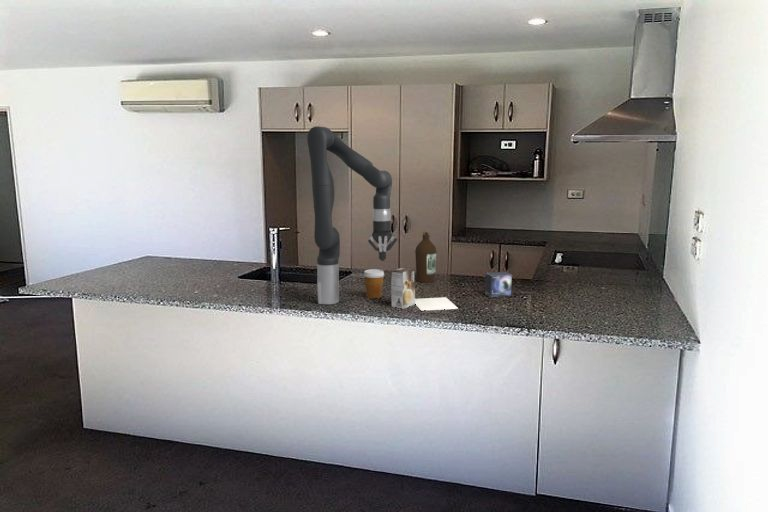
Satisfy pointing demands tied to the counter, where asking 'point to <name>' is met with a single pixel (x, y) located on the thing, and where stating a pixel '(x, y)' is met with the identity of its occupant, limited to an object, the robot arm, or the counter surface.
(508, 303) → the counter surface
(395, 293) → the coffee box
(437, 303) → the mat
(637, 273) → the counter surface
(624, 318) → the counter surface
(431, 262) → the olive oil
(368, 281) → the disposable coffee cup
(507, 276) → the small box
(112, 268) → the counter surface
